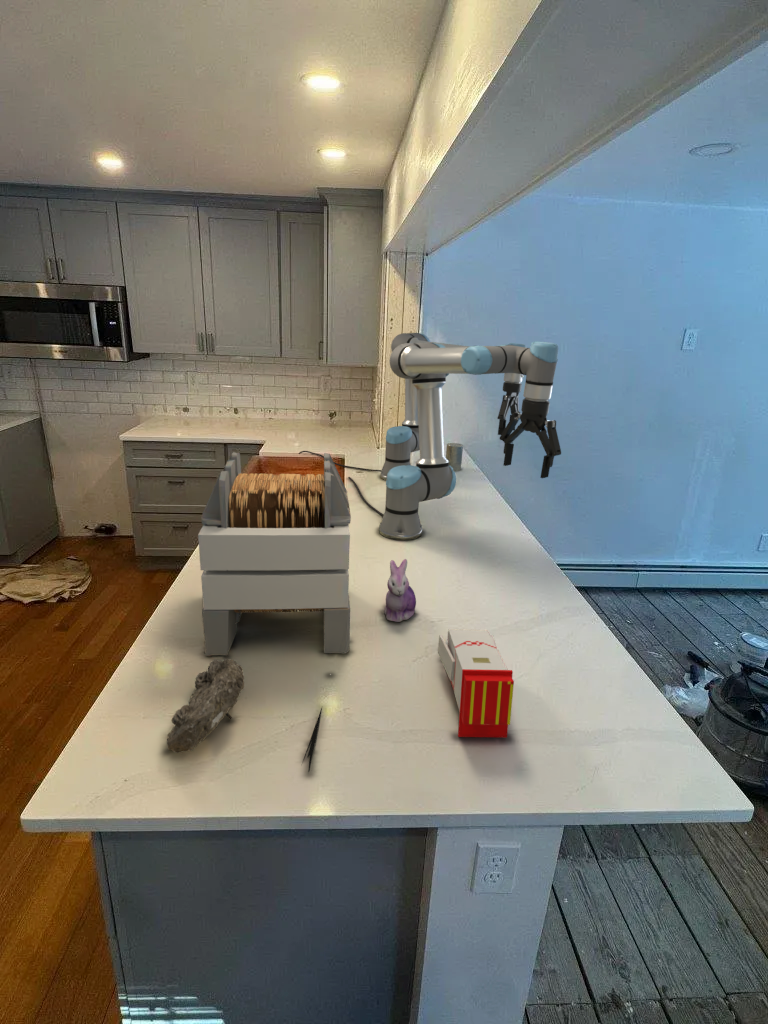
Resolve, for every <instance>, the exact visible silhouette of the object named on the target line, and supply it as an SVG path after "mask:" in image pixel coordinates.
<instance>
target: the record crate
mask: <svg viewBox="0 0 768 1024" xmlns="http://www.w3.org/2000/svg"><path fill="white" fill-rule="evenodd" d="M323 456H324V458H323V473H322V474H321V473H318V474H316V475H315V474H314V473H306V474H303V475H302V474H301V473H280V474H273V473H244V472H243V473H242V466H241V463H242V462H241V453H240V452H235V451H233V452H231V455H230V457H229V459H227V460H226V463H225V466H224V468H223V470H222V471H220V474H219V475H218V477H217V479H216V482H215V483H214V486H213V489H212V491H211V494H210V495H209V498H208V499H207V502H206V505H205V507H204V509H203V511H202V514H201V517H200V520H201V524H202V527H201V529H200V530H199V532H198V535H197V538H198V550H199V552H198V553H199V563H200V565H199V567H200V571H202V573H201V575H200V580H201V581H200V582H201V594H202V605H203V607H202V609H201V610H202V611H201V617H202V629H203V638H204V639H203V640H204V649H205V650H204V651H205V652H204V655H205V656H206V657H212V656H228V654H229V652H230V650H231V647H232V645H233V643H234V640H235V638H236V635H237V632H238V623H240V620H241V617H242V614H244V613H250V614H251V613H253V614H254V613H257V614H258V613H298V612H301V613H302V612H308V613H309V612H322V614H323V654H344V655H346V654H347V653H349V652H350V639H351V604H350V595H349V594H350V593H349V586H350V585H349V584H350V572H349V571H350V570H349V569H350V549H351V548H350V547H351V545H350V542H351V533H350V532H351V531H350V526H349V525H350V524H351V520H352V516H351V515H352V514H351V509H350V502H349V496H348V490H347V488H346V486H345V484H344V482H343V480H342V478H341V474H340V473H339V471H338V469H337V465H336V464H334V462H335V461H334V460H333V458H332V455H331V454H330V453H326V452H324V453H323Z"/></svg>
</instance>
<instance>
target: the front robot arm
mask: <svg viewBox="0 0 768 1024" xmlns="http://www.w3.org/2000/svg"><path fill="white" fill-rule="evenodd" d="M436 343H437V342H436ZM436 343H405V344H401V345H399V346H397V347H396V348H395V349H394V350H393V351H392V350H391V354H390V356H389V367H390V369H391V371H392V373H393V374H394V375H396V376H397V377H398V378H401V379H404V380H405V379H412V385H413V386H414V387H415V388H416V389H417V401H418V422H419V444H420V450H419V459H418V460H417V461H416V462H415V464H416V465H412V464H411V465H407V466H405V465H402V466H397V467H394V468H392V469H391V470H390V471H389V472H388V474H387V480H385V504H384V505H385V507H384V508H385V509H384V513H382V512H381V511H380V510H378V509H377V508H375V507H374V506H373V505H371V504H370V503H369V502H368V501H367V500H366V499H365V497H364V496H363V494H362V492H361V491H360V489H359V486H358V485H357V483H356V482H355V481H354V480H353V478H352V477H350V476H348V479H349V480H350V481H351V482H352V483H353V485H354V486H355V488H356V490H357V492H358V494H359V496H360V498H361V500H363V502H364V503H365V504H366V505H367V506H368V507H369V508H371V509H372V510H373V511H375V512H376V513H377V514H379V515H380V516H381V517H382V519H381V522H379V525H378V533H379V534H380V535H381V536H382V537H385V538H387V539H389V540H395V541H410V540H415V539H418V538H420V537H421V536H422V535H423V525H422V524H421V518H420V515H419V507H420V506H419V505H420V503H422V502H426V501H427V502H428V501H432V500H439V499H442V498H445V497H448V496H450V495H451V494H452V492H454V490H455V488H456V485H457V473H456V471H453V470H454V469H453V468H452V467H451V466H450V465H449V461H448V460H447V459H446V456H445V444H444V443H445V442H444V439H445V438H444V415H443V387H444V386H445V384H446V382H447V379H446V378H447V377H448V376H449V375H450V374H452V375H457V374H459V375H466V374H467V375H474V376H479V375H491V374H492V375H493V374H495V375H496V374H505V373H516V374H523V375H524V376H525V382H524V389H523V399H522V402H521V409H520V411H519V412H513V413H512V414H511V415H512V416H511V420H510V419H509V420H510V421H509V420H508V423H506V427H505V429H504V431H503V433H502V434H501V435H499V441H502V442H503V444H504V445H503V454H504V459H503V464H502V465H503V466H504V467H507V466H511V465H512V461H513V454H514V448H515V447H514V446H515V443H514V441H515V440H516V439H517V438H519V436H520V435H522V434H523V432H524V431H525V432H530V433H533V434H535V435H536V436H537V437H538V439H539V441H540V443H541V445H542V447H543V449H544V452H545V455H543V459H542V466H541V471H540V478H541V479H546V478H549V474H550V469H551V468H552V467H553V465H554V458H555V457H557V456H560V455H562V448H561V444H560V441H559V436H558V432H557V431H558V430H557V420H555V419H553V420H549V419H548V418H547V416H548V415H549V411H550V405H551V402H550V399H551V398H552V392H553V387H554V379H555V373H556V368H557V364H558V360H559V359H558V357H559V356H558V355H559V345H558V344H557V343H554V342H549V341H548V342H546V341H532V342H531V345H530V347H527V346H526V347H520V346H515V345H508V344H500V345H473V346H470V347H448V348H446V347H445V346H443V345H441V344H436ZM519 421H520V423H519ZM518 423H519V424H518ZM517 424H518V425H517ZM516 426H517V427H516ZM514 427H515V430H513V429H514Z"/></svg>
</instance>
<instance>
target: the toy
mask: <svg viewBox="0 0 768 1024" xmlns="http://www.w3.org/2000/svg"><path fill="white" fill-rule="evenodd" d="M446 640H447V643H446V641H445V639H444V636H443V635H442V634H439V637H438V646H437V656H438V657H439V659H440V661H441V663H442V666H443V668H444V670H445V672H446V674H447V677H448V679H449V681H450V684H451V687H452V690H453V693H454V697H455V701H456V705H457V708H458V711H459V714H458V715H459V716H458V730H457V731H458V732H457V737H458V738H508V731H509V726H510V725H511V717H512V707H513V697H514V696H513V695H514V684H515V680H514V679H513V673H514V671H513V670H512V669H508V667H507V665H506V662H505V661H504V659H503V658H502V655H501V653H500V651H499V649H498V647H497V643H496V639H495V637H494V635H493V634H491V632H490V631H489V629H467V628H466V629H465V628H463V629H461V628H460V629H459V628H448V630H447V639H446Z"/></svg>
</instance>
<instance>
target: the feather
mask: <svg viewBox="0 0 768 1024" xmlns="http://www.w3.org/2000/svg"><path fill="white" fill-rule="evenodd" d="M329 675H330V676H331V675H332V674H331V673H330V674H329ZM322 710H323V707H321V708H320V710H319V713H318V716H317V719H316V723H315V725H314V728H313V731H312V733H311V737H310V739H309V742H308V745H307V748H306V751H305V754H304V757H303V760H302V763H301V767H302V765H303V763H304V761H305V758H308V759H309V760H308V762H307V763H308V764H307V766H308V771H310V770H311V766H312V765H311V764H312V760H313V757H315V756H314V755H315V751H316V749H315V746H317V739H318V733H319V729H320V722H321V717H322V712H323V711H322ZM313 754H314V755H313ZM306 755H307V757H306Z"/></svg>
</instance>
